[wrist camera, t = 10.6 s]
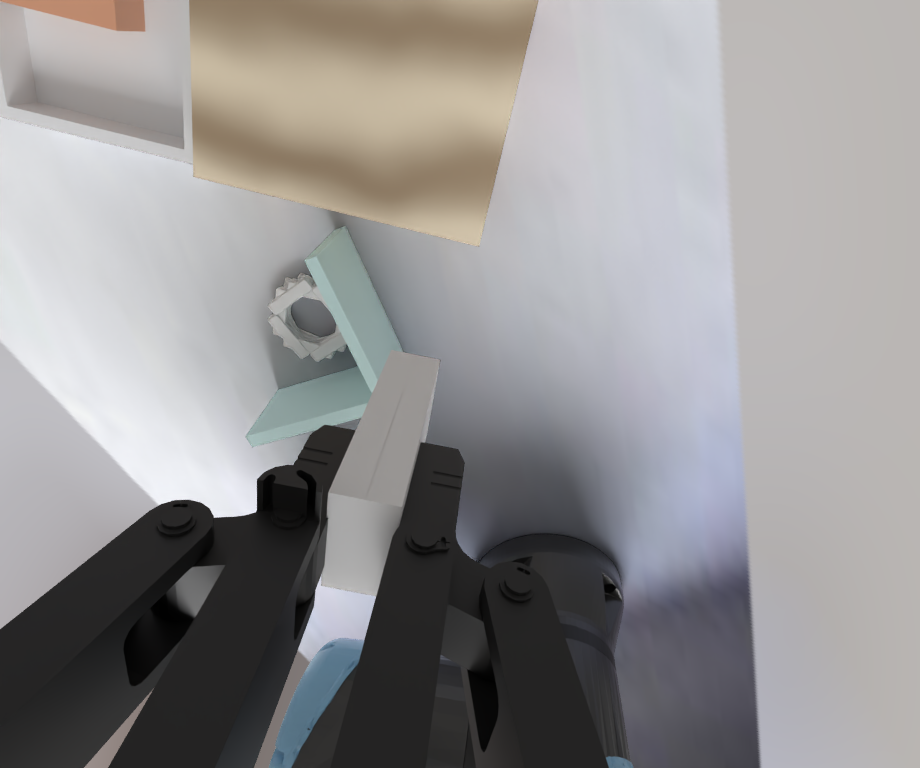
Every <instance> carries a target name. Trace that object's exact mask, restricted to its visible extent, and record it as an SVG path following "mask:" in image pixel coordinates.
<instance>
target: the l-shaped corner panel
mask: <svg viewBox="0 0 920 768" xmlns="http://www.w3.org/2000/svg"><path fill="white" fill-rule="evenodd" d="M304 261H305V263H306V265H307V267H308V269H309V271H310V273H311V275H312V277H311V276H308V275H306V274H303V273H299V275H298V279H295V278H292V279H291V278H288V277H286V278H285V281H284V285H283V286H281V287H279V288H277V289H276V294H275V298H274V299H273V300H271V302H270V303H269V304H268V307H269V309H270V310H271V311H272V313H273V314H272V315H270V316H269V317H268V322H269V324H270V325H271V326H272V327H273V334H274V335H277V336H280V337H282V339H283V346H284V347H286V348H290V349H292V350H293V351H294V352H295V354H296V355H297V356H298V357H299V358H300V359H304V358H305V357H307V356H308V355H309V354H310V355H311V357H312V358H313V359H314V360H315V361H316V362H319V361H321V360H322V359H324V358H327V359H332V357H333V355H335V351H340V352H344V351H345V349H346V344H347V346H348V348H349V350H350V352H351V353H352V355H353V357H354V359H355V361H356V363H357V365H358V366H357V367H353V368H350V369H347V370H343V371H340V372H336V373H333V374H330V375H326V376H323V377H319V378H316V379H313V380H309V381H306V382H303V383H299V384H296V385H292V386H289V387H286V388H282V389H279V390H278V391H277V392H276V394H275V395H274V397H273V398H272V399H271V401H270V402H269V404H268V405H267V407H266V408H265V409H264V411H263V412H262V414H261V415H260V417H259V418H258V419H257V421H256V422H255V424H254V425H253V427H252V428H251V429H250V431H249V432H248V434H247V435H246V438H247V440H248V441H249V443H250V444H251V446H252V447H255V446H259V445H262V444H266V443H270V442H274V441H277V440H281V439H285V438H288V437H292V436H296V435H300V434H303V433H307V432H311V431H315V430H318V429H319V428H320V427H322V426H323V425H330V426H333V425H337V424H341V423H344V422H348V421H352V420H355V419H359V418H361V417H362V415H363V413H364V411H365V408H366V406H367V404H368V402H369V399H370V397H371V395H372V392H373V390H374V388H375V386H376V383H377V381H378V379H379V377H380V374H381V372H382V370H383V368H384V365H385V363H386V361H387V359H388V356H389V354H390V352H391V350H395V351H400V352H403V350H402V348H401V345H400V343H399V341H398V339H397V337H396V335H395V332H394V330H393V328H392V326H391V324H390V321H389V319H388V317H387V315H386V313H385V311H384V308H383V306H382V304H381V302H380V300H379V298H378V295H377V293H376V291H375V289H374V287H373V285H372V282H371V280H370V278H369V276H368V274H367V271H366V269H365V267H364V265H363V263H362V261H361V258H360V256H359V254H358V252H357V250H356V248H355V245H354V243H353V241H352V239H351V237H350V235H349V232H348V230H347V228H346V226H344V227H341V228H338V229H336V230H334V231H333V232H332V233H331V234H330V235H329V236H328V237H327V238H326V239H325V240H324V241H323V242H322V243H321V244H320V245H319V246H318V247H317V248H316V249H315V250H314V251H313V252H312V253H311V254H310V255H309V256H308V257H307V258H306V259H305V260H304ZM301 297H306V298H310V299H314V300H318V301H321V302H322V303H323V304H324V306H325V307H326V308H327V309H328V310H329V311H330V312H331V314H332V316H333V318H334V320H335V322H336V329H335V332H334V333H333V334H331V335H328V336H325V337H319V336H316V335H314V334H311V333H309V332H307V331H304V330H302V329H299V328H298V327H297V325H296V323H295V321H294V319H293V317H292V315H291V306H292V304H293V303H294V302H296V301H297V300H299V299H300V298H301Z"/></svg>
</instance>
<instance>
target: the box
mask: <svg viewBox="0 0 920 768" xmlns="http://www.w3.org/2000/svg"><path fill="white" fill-rule="evenodd" d="M144 15H145V32H139V31H115V30H111V29H107V28H103V27H99V26H95V25H91V24H88V23H84V22H80V21H76V20H72V19H68V18H64V17H60V16H56V15H52V14H48V13H44V12H40V11H36V10H32V9H28V8H25V7H21V6H17V5H13V4H9V3H5V2H1V1H0V117H2V118H6V119H10V120H14V121H18V122H22V123H26V124H30V125H34V126H38V127H42V128H46V129H51V130H55V131H59V132H63V133H67V134H71V135H75V136H79V137H83V138H87V139H91V140H95V141H99V142H104V143H108V144H112V145H116V146H120V147H124V148H128V149H132V150H136V151H140V152H144V153H148V154H152V155H157V156H161V157H165V158H169V159H173V160H177V161H181V162H185V163H189V164H193V139H192V99H191V58H190V17H189V0H144Z"/></svg>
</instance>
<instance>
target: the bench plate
mask: <svg viewBox="0 0 920 768" xmlns="http://www.w3.org/2000/svg"><path fill="white" fill-rule="evenodd" d="M537 4H538V0H189V17H190V58H191V99H192V139H193V177H196V178H200V179H204V180H208V181H212V182H216V183H221V184H225V185H229V186H233V187H237V188H241V189H245V190H249V191H253V192H257V193H261V194H266V195H270V196H274V197H278V198H282V199H286V200H290V201H294V202H298V203H302V204H306V205H311V206H315V207H319V208H323V209H327V210H331V211H335V212H339V213H343V214H347V215H351V216H355V217H360V218H364V219H368V220H372V221H376V222H380V223H384V224H388V225H392V226H396V227H400V228H405V229H409V230H413V231H417V232H421V233H425V234H429V235H433V236H437V237H441V238H445V239H450V240H454V241H458V242H462V243H466V244H470V245H474V246H478V247H479V244H480V240H481V236H482V232H483V228H484V223H485V219H486V215H487V211H488V207H489V203H490V199H491V194H492V190H493V186H494V182H495V178H496V174H497V170H498V166H499V161H500V157H501V153H502V149H503V145H504V141H505V137H506V132H507V128H508V124H509V120H510V116H511V112H512V108H513V103H514V99H515V95H516V91H517V87H518V83H519V79H520V74H521V70H522V66H523V62H524V58H525V54H526V50H527V45H528V41H529V37H530V33H531V29H532V25H533V21H534V17H535V12H536V8H537Z"/></svg>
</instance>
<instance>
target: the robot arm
mask: <svg viewBox="0 0 920 768" xmlns="http://www.w3.org/2000/svg"><path fill="white" fill-rule="evenodd" d="M439 366H440V359H435V358H430V357H425V356H420V355H415V354H410V353H405V352H400V351H395V350H391V352H390V354H389V356H388V359H387V361H386V363H385V365H384V368H383V370H382V372H381V374H380V377H379V379H378V381H377V383H376V386H375V388H374V390H373V392H372V395H371V397H370V399H369V402H368V404H367V406H366V408H365V411H364V413H363V415H362V417H361V420H360V422H359V424H358V426H357V429H356V431H355V430H350V429H345V428H340V427H335V426H330V425H323V426H322V427H320V428H319V429H318V430H316V431H315V432H313V433H312V434H311V435H310V436H309V438H308V440H307V442H306V444H305V445H304V448H303V449H302V451H301V453H300V454H299V456H298V459H297V460H296V461H295V463H294V465H285V466H279V467H275V468H272V469H270V470H268V471H266V472H264V473H263V474H262V475H261V476H260V477H259V478H258V479H257V511H256V513H252V514H249V515H245V516H238V517H221V518H213V514H212V513H211V511H210V509H209V508H208V507H207V506H205V505H204V504H202V503H200V502H196V501H191V500H174V501H171V502H167V503H164V504H161V505H159V506H157V507H156V508H154V509H152V510H150V511H149V512H148V513H146V514H145V515H144V516H143V517H141V518H140V519H139V520H138V521H136V522H135V523H134V524H132V525H131V526H130V527H129V528H127V529H126V530H125V531H124V532H122V533H121V534H120V535H119V536H117V537H116V538H115V539H114V540H112V541H111V542H110V543H108V544H107V545H106V546H105V547H103V548H102V549H101V550H100V551H98V552H97V553H96V554H95V555H93V556H92V557H91V558H90V559H88V560H87V561H86V562H85V563H83V564H82V565H81V566H79V567H78V568H77V569H76V570H74V571H73V572H72V573H71V574H69V575H68V576H67V577H66V578H64V579H63V580H62V581H61V582H60V583H58V584H57V585H56V586H54V587H53V588H52V589H50V590H49V591H48V592H47V593H46V594H44V595H43V596H42V597H40V598H39V599H38V600H37V601H35V602H34V603H33V604H32V605H30V606H29V607H28V608H27V609H25V610H24V611H23V612H21V613H20V614H19V615H18V616H16V617H15V618H14V619H13V620H11V621H10V622H9V623H8V624H6V625H5V626H4V627H3V628H1V629H0V768H84V767H85V766H86V764H87V763H88V762H89V761H90V760H91V759H92V758H93V757H94V755H95V754H96V753H97V752H98V751H99V750H100V749H101V747H102V746H103V745H104V744H105V743H106V742H107V741H108V740H109V738H110V737H111V736H112V735H113V734H114V733H115V732H116V730H117V729H118V728H119V727H120V726H121V725H122V724H123V722H124V721H125V720H126V719H127V718H128V717H129V716H130V714H131V713H132V712H133V711H134V710H135V709H136V708H137V706H138V705H139V704H140V703H141V702H142V701H143V700H144V698H145V697H146V696H147V695H148V694H149V693H150V692H151V691H152V689H153V688H154V687H155V688H154V689H153V691H152V693H151V695H150V696H149V698H148V700H147V701H146V703H145V705H144V707H143V709H142V710H141V712H140V714H139V715H138V717H137V719H136V720H135V722H134V724H133V726H132V727H131V729H130V731H129V733H128V734H127V736H126V738H125V739H124V741H123V743H122V745H121V747H120V748H119V750H118V752H117V753H116V755H115V757H114V759H113V760H112V762H111V764H110V766H109V767H108V768H254V765H255V763H256V760H257V758H258V755H259V752H260V749H261V747H262V743H263V741H264V738H265V736H266V733H267V731H268V728H269V725H270V723H271V720H272V717H273V715H274V712H275V709H276V706H277V704H278V701H279V698H280V696H281V693H282V690H283V688H284V685H285V682H286V680H287V677H288V674H289V671H290V669H291V666H292V663H293V661H294V658H295V655H296V653H297V650H298V647H299V645H300V642H301V639H302V637H303V634H304V631H305V629H306V626H307V623H308V621H309V618H310V615H311V613H312V610H313V607H314V600H315V589H316V587H317V584H318V581H319V579H320V576H321V574H322V577H321V586H325V587H330V588H335V589H341V590H346V591H351V592H356V593H361V594H366V595H371V596H376V600H375V603H374V607H373V611H372V614H371V618H370V622H369V626H368V629H367V633H366V637H365V640H357V639H349V638H338V639H335V640H332V641H330V642H328V643H327V644H326V645H324V646H323V647H322V648H321V649H320V650H319V652H318V653H317V654H316V655H315V656H314V658H313V659H312V661H311V662H310V664H309V666H308V668H307V669H306V671H305V673H304V675H303V676H302V678H301V680H300V682H299V684H298V686H297V689H296V691H295V693H294V695H293V697H292V700H291V702H290V705H289V707H288V709H287V712H286V715H285V717H284V720H283V722H282V725H281V728H280V731H279V734H278V737H277V740H276V749H275V752H274V754H273V756H272V759H271V762H270V765H269V768H633V766H632V763H631V761H630V755H629V748H628V742H627V736H626V730H625V723H624V717H623V711H622V704H621V698H620V692H619V685H618V679H617V674H616V667H615V660H614V652H615V647H616V642H617V637H618V633H619V628H620V623H621V618H622V613H623V608H624V598H623V591H622V586H621V580H620V576H619V573H618V571H617V569H616V567H615V566H614V564H613V563H612V561H611V560H610V559H609V558H608V557H607V556H606V555H605V554H604V553H602V552H601V551H600V550H598V549H597V548H595V547H593V546H591V545H590V544H587V543H585V542H583V541H580V540H577V539H574V538H570V537H566V536H560V535H551V534H538V535H529V536H523V537H519V538H515V539H512V540H509V541H507V542H504V543H502V544H500V545H498V546H497V547H495V548H493V549H492V550H491V551H489V552H488V553H487V554H486V555H485V556H484V557H483V558H482V559H481V561H480V562H479V563H478V562H476V561H475V560H473V559H471V558H470V557H469V556H467V555H466V554H465V553H464V552H463V551H462V549H461V548H460V546H459V545H458V542H457V540H456V523H457V516H458V508H459V501H460V493H461V486H462V478H463V471H464V461H463V459H462V456H461V454H460V452H459V450H458V449H453V448H448V447H443V446H438V445H433V444H428V443H425V441H426V437H427V432H428V427H429V421H430V416H431V410H432V405H433V399H434V393H435V388H436V382H437V377H438V371H439Z"/></svg>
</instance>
